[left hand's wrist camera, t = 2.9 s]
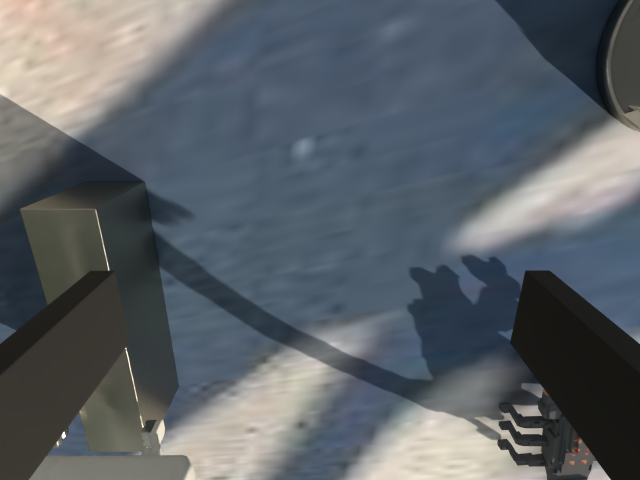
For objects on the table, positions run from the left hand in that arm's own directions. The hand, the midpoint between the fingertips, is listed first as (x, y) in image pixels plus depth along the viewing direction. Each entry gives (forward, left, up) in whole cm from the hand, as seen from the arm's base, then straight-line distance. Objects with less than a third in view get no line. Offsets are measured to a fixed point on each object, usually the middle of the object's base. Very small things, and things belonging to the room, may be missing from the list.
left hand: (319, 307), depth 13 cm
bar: (+24, +10, -28) cm, 38 cm away
